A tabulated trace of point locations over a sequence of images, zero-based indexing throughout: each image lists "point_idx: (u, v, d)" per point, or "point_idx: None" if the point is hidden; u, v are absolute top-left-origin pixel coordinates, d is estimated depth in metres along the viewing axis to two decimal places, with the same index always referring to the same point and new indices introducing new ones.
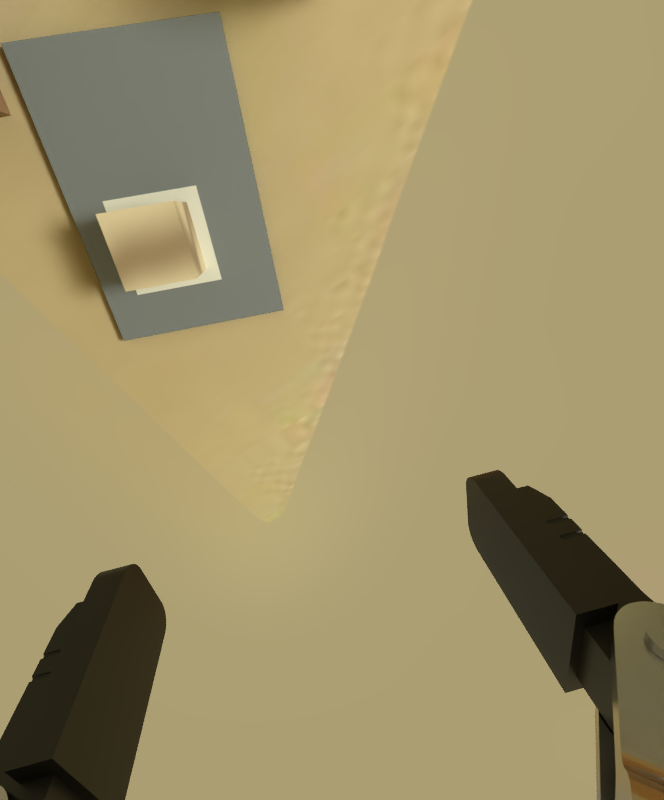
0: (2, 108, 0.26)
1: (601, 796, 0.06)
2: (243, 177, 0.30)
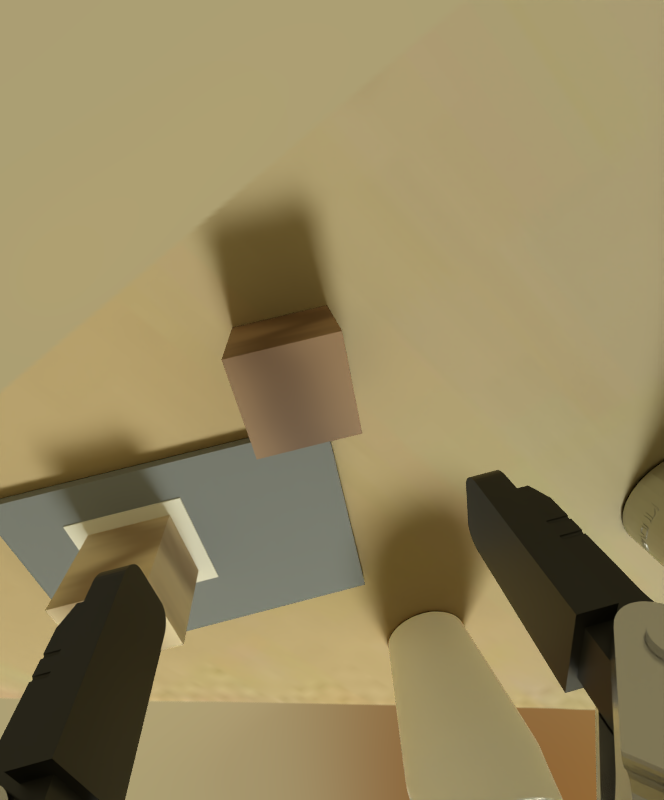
0: None
1: (601, 796, 0.06)
2: (234, 609, 0.28)
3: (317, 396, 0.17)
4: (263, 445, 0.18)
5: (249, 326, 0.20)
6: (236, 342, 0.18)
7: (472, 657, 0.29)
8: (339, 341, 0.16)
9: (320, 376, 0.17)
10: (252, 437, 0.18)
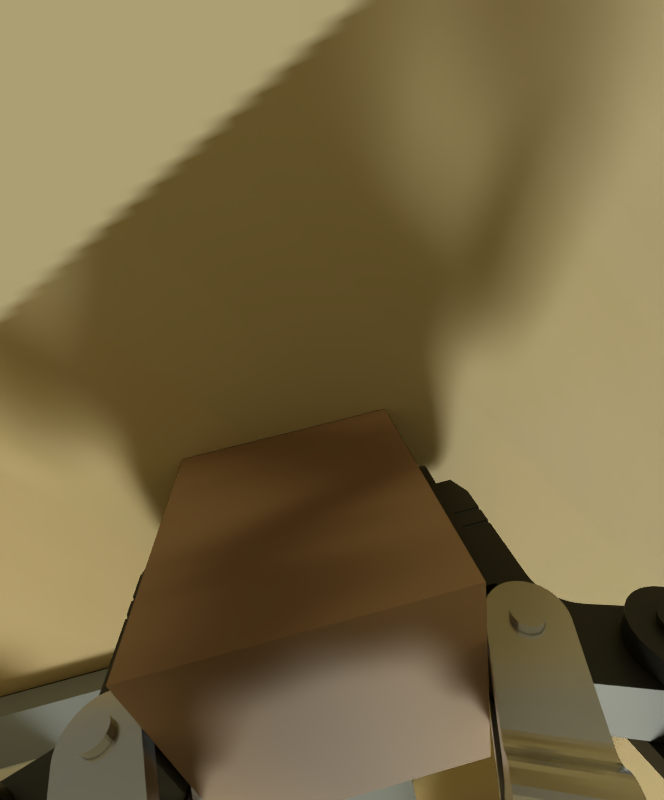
0: None
1: (499, 777, 0.06)
2: None
3: (391, 716, 0.06)
4: None
5: (216, 467, 0.09)
6: (174, 553, 0.07)
7: None
8: (473, 606, 0.05)
9: (405, 681, 0.06)
10: None
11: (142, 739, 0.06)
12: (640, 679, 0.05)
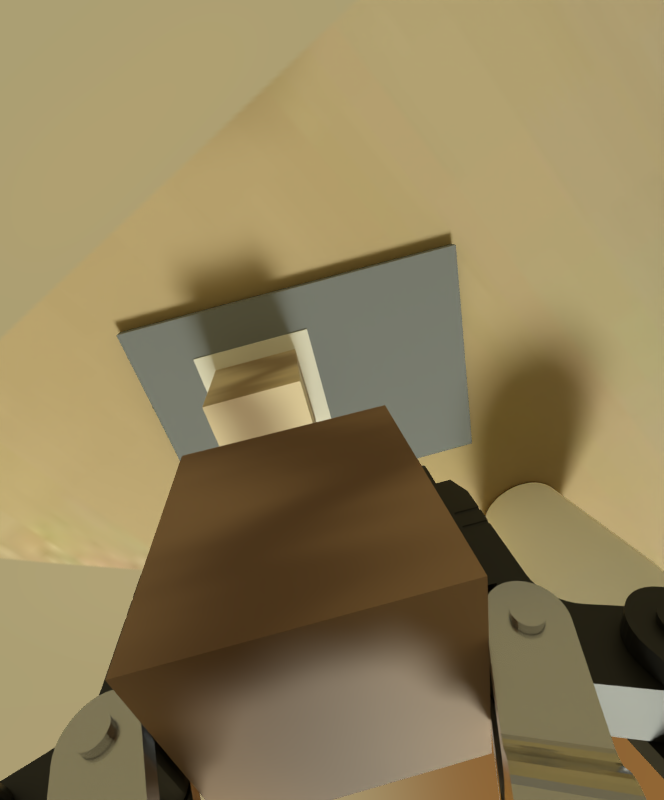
0: None
1: (499, 777, 0.06)
2: None
3: (392, 712, 0.06)
4: None
5: (216, 463, 0.09)
6: (173, 548, 0.07)
7: (583, 512, 0.29)
8: (475, 600, 0.05)
9: (406, 675, 0.06)
10: None
11: (142, 739, 0.06)
12: (640, 679, 0.05)
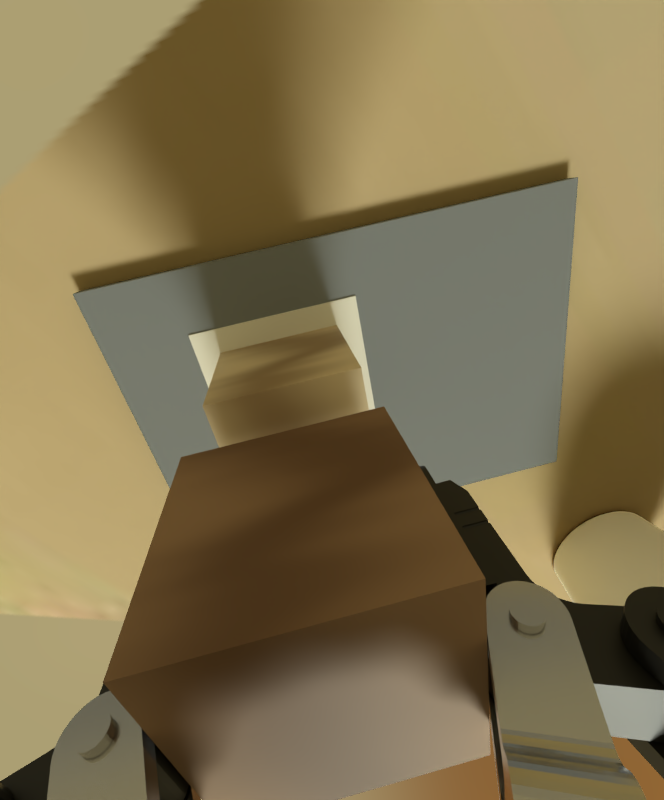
0: None
1: (499, 777, 0.06)
2: None
3: (390, 714, 0.06)
4: None
5: (215, 465, 0.09)
6: (172, 550, 0.07)
7: None
8: (473, 603, 0.05)
9: (404, 678, 0.06)
10: None
11: (142, 739, 0.06)
12: (640, 679, 0.05)
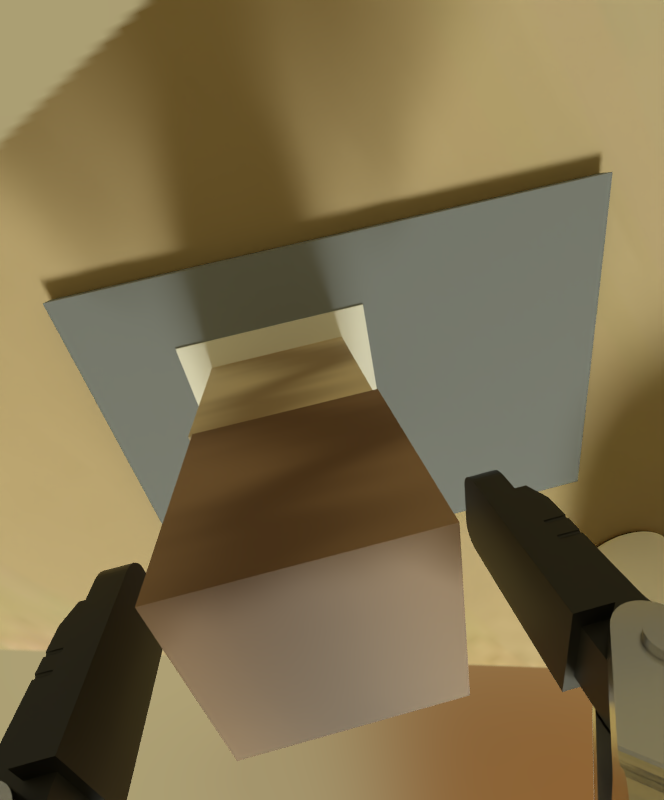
0: None
1: (598, 795, 0.06)
2: None
3: (379, 649, 0.07)
4: (251, 740, 0.08)
5: (224, 440, 0.10)
6: (188, 508, 0.08)
7: None
8: (449, 544, 0.06)
9: (391, 614, 0.07)
10: (225, 730, 0.08)
11: None
12: None
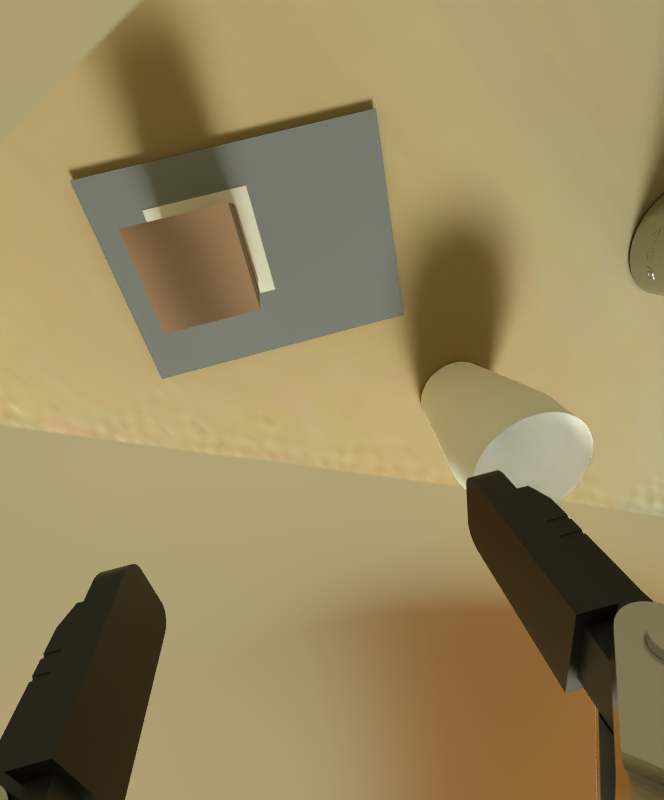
0: None
1: (601, 796, 0.06)
2: (287, 334, 0.31)
3: (213, 269, 0.19)
4: (168, 320, 0.20)
5: None
6: None
7: None
8: (226, 213, 0.18)
9: (213, 249, 0.19)
10: (156, 310, 0.19)
11: None
12: None
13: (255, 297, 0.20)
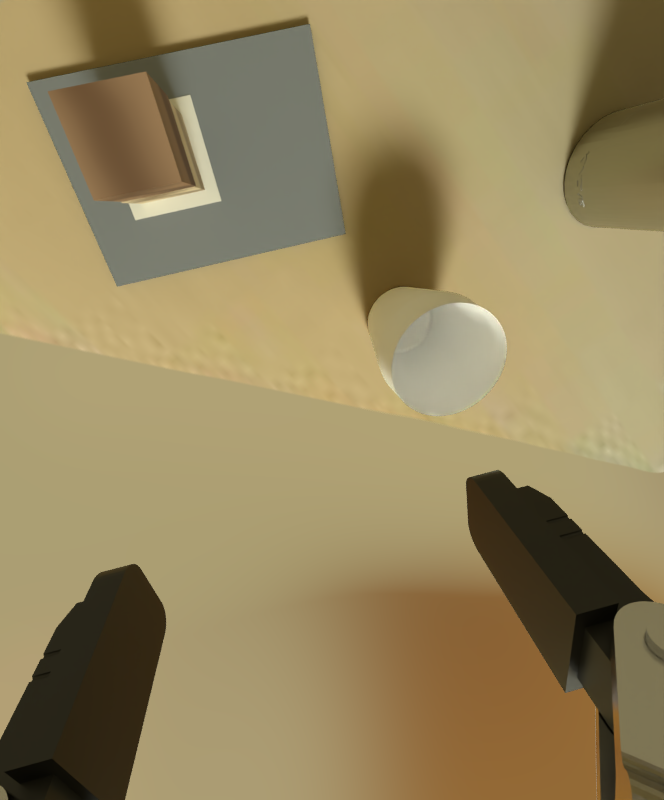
0: (122, 200, 0.26)
1: (601, 796, 0.06)
2: (234, 247, 0.33)
3: (135, 138, 0.21)
4: (97, 186, 0.22)
5: None
6: None
7: None
8: (145, 81, 0.20)
9: (135, 117, 0.21)
10: (86, 176, 0.22)
11: None
12: None
13: (176, 169, 0.22)
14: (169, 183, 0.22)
